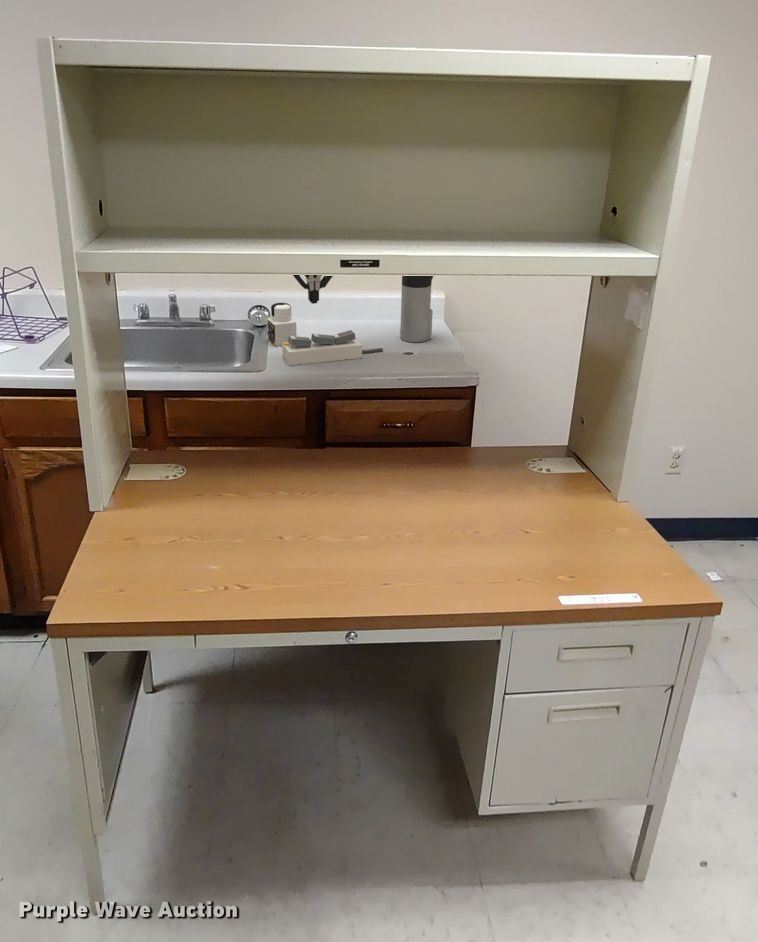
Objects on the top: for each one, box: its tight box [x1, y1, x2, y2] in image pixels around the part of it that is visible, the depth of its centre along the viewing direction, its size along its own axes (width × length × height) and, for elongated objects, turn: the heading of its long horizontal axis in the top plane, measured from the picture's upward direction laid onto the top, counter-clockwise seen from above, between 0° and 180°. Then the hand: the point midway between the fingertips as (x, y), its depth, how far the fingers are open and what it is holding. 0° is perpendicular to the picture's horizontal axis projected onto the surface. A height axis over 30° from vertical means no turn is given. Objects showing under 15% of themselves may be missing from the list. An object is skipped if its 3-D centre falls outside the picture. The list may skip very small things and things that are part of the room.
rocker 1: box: [288, 335, 312, 347], centre depth 219 cm, size 6×4×2 cm, turn 111°
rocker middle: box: [310, 333, 335, 345], centre depth 221 cm, size 6×4×2 cm, turn 111°
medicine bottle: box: [267, 302, 298, 347], centre depth 233 cm, size 7×7×12 cm
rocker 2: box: [331, 329, 357, 344], centre depth 223 cm, size 6×4×2 cm, turn 110°
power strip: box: [281, 339, 384, 366], centre depth 224 cm, size 30×8×5 cm, turn 111°
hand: (313, 302), depth 215 cm, fingers closed
